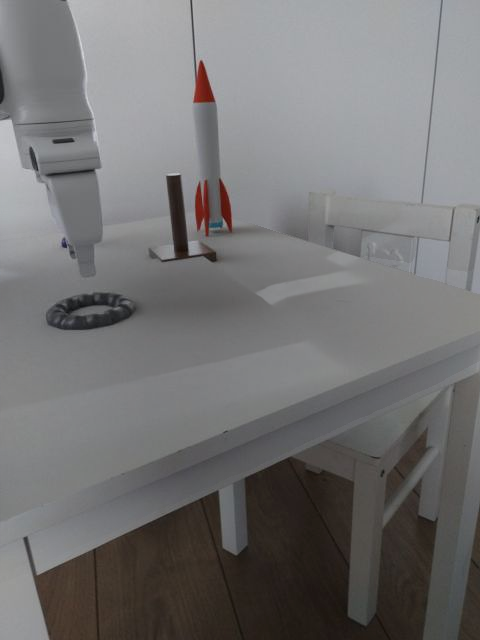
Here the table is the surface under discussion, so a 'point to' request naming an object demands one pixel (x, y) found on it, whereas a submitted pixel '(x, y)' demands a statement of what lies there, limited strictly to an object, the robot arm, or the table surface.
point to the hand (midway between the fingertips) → (82, 266)
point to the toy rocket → (208, 159)
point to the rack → (179, 229)
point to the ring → (64, 321)
